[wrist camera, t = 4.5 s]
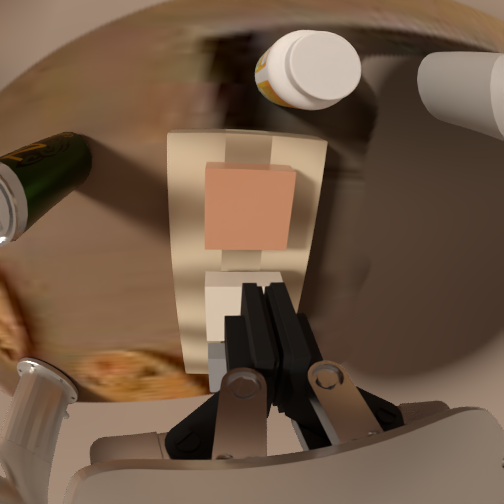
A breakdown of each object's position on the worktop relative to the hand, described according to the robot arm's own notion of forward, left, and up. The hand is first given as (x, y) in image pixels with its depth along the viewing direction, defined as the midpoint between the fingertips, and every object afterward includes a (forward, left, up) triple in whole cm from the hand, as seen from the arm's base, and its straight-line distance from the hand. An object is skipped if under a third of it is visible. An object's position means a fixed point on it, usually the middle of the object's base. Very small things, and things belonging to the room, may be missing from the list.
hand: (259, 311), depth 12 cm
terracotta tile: (0, 0, -13) cm, 13 cm away
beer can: (+3, +16, -16) cm, 22 cm away
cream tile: (-8, 0, -12) cm, 15 cm away
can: (+13, -19, -16) cm, 28 cm away
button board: (-8, 0, -16) cm, 17 cm away
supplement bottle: (+10, -3, -16) cm, 19 cm away
